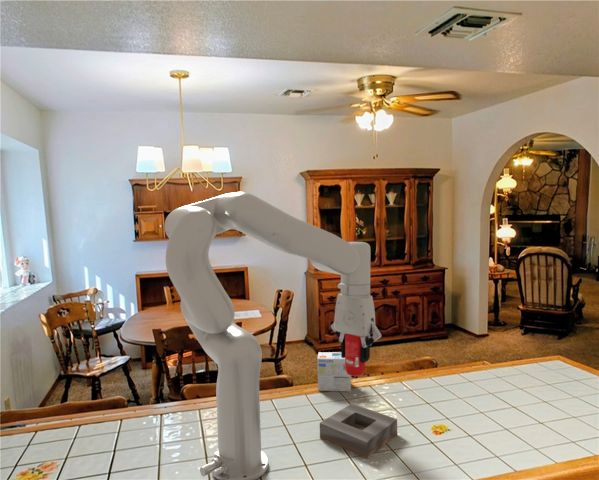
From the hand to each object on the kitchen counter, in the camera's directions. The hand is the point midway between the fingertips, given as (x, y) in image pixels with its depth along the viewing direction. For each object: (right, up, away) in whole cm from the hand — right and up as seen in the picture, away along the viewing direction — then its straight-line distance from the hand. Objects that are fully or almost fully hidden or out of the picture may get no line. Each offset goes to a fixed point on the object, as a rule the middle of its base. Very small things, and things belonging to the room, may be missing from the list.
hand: (355, 358), depth 112 cm
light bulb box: (-3, -17, +27) cm, 33 cm away
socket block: (+1, -19, -3) cm, 19 cm away
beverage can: (0, -4, 0) cm, 4 cm away
